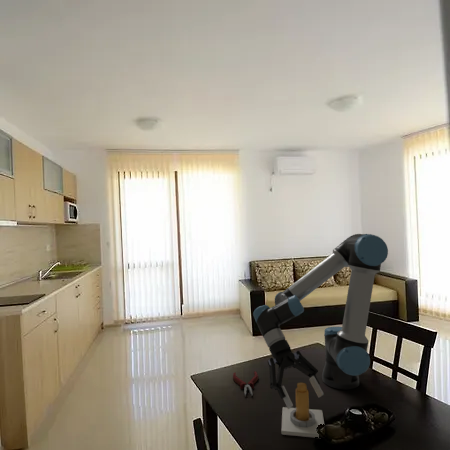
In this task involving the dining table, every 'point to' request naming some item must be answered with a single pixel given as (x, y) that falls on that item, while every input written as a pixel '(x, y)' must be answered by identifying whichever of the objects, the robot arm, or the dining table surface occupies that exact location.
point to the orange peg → (302, 402)
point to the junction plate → (301, 423)
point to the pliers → (250, 385)
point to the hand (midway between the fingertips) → (306, 401)
